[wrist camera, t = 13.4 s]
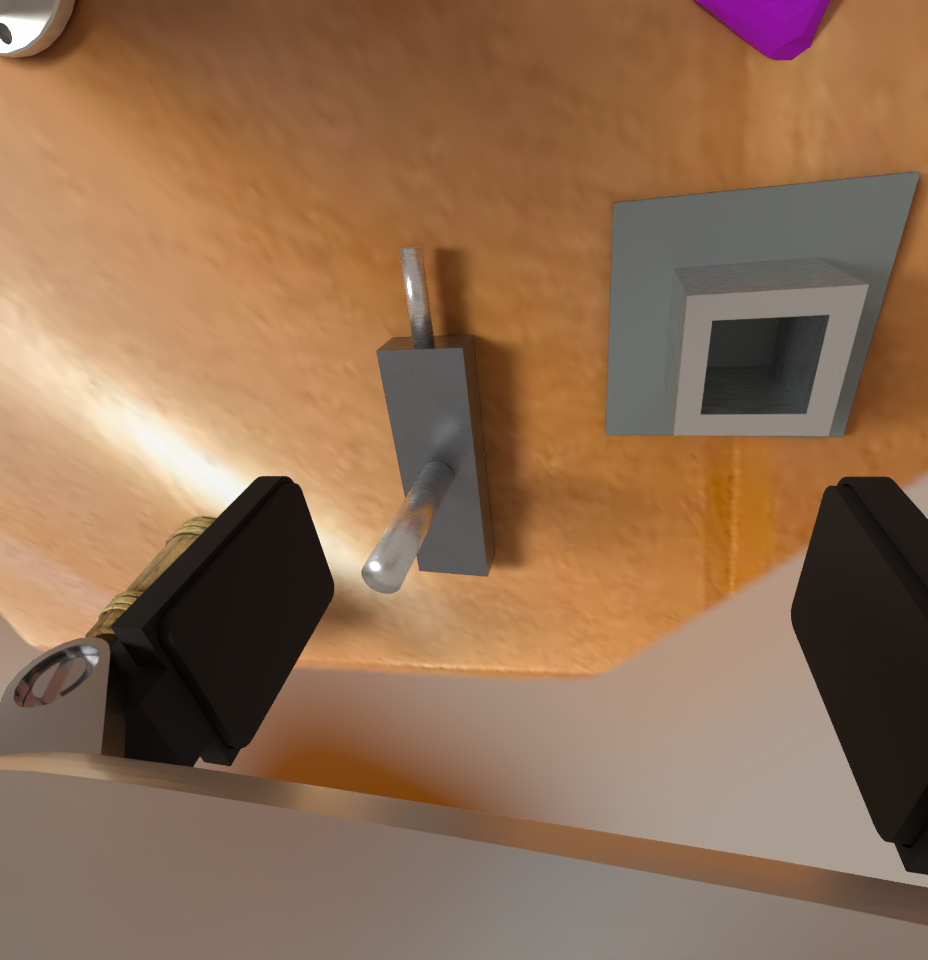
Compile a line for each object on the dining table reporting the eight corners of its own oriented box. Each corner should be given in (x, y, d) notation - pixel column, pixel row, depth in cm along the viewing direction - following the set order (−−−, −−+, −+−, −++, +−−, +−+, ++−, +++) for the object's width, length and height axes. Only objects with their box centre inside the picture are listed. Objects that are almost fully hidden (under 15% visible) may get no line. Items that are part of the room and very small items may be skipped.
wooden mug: (328, 578, 44) (181, 796, 29) (217, 602, 49) (47, 794, 34) (268, 493, 40) (67, 690, 25) (157, 528, 46) (-62, 707, 31)
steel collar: (673, 268, 25) (687, 295, 20) (815, 257, 23) (868, 284, 18) (663, 386, 28) (673, 435, 23) (788, 383, 26) (828, 436, 22)
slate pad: (613, 202, 25) (613, 203, 24) (913, 171, 22) (920, 172, 21) (605, 430, 31) (605, 434, 30) (838, 431, 28) (842, 437, 27)
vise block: (376, 247, 28) (248, 296, 19) (463, 239, 27) (377, 287, 17) (429, 548, 39) (367, 682, 29) (494, 553, 38) (452, 694, 28)
